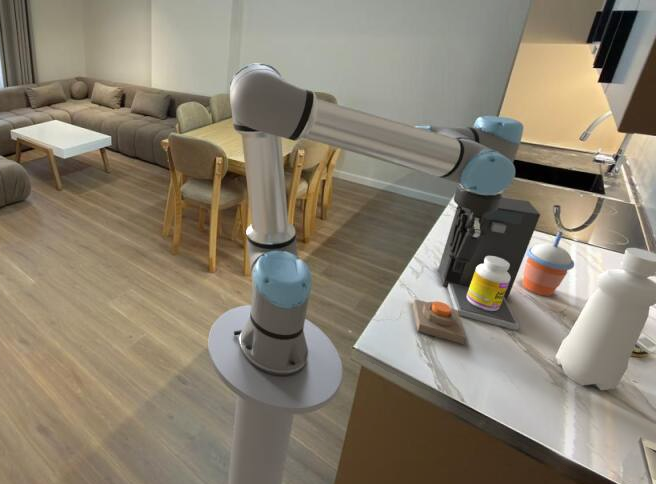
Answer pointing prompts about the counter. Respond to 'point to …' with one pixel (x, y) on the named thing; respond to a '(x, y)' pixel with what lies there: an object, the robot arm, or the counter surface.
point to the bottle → (610, 323)
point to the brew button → (441, 309)
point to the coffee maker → (501, 241)
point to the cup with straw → (546, 267)
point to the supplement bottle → (489, 283)
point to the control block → (438, 322)
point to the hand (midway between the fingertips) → (451, 280)
